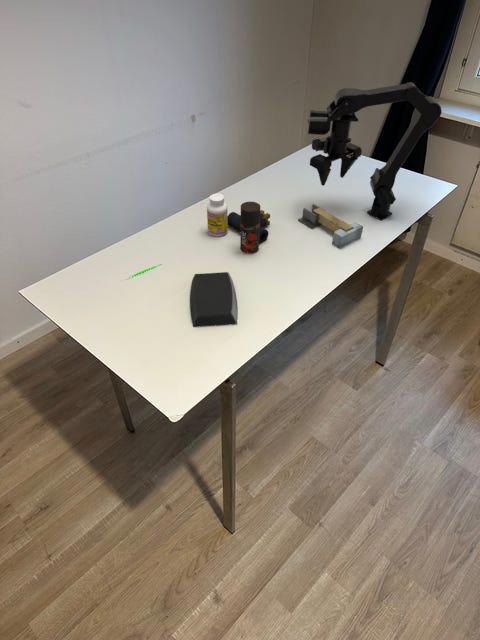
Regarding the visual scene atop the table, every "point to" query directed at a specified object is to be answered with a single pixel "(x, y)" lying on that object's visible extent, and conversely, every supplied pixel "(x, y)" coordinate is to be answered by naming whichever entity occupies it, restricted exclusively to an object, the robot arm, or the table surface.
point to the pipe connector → (235, 223)
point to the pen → (145, 270)
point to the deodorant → (250, 227)
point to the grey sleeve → (310, 218)
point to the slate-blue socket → (347, 235)
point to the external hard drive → (213, 300)
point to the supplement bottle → (217, 215)
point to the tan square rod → (331, 221)
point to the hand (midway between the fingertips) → (332, 181)
